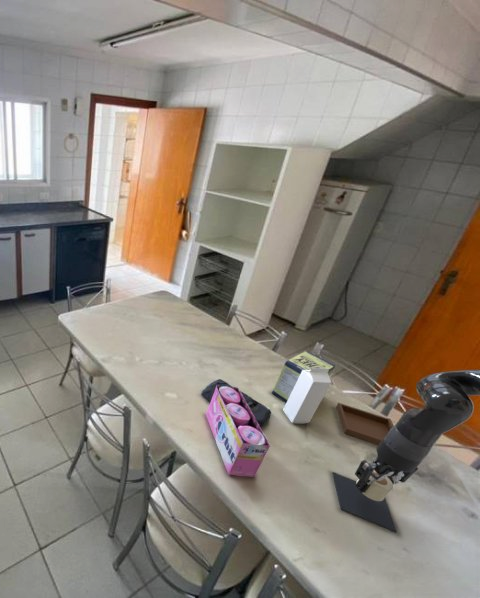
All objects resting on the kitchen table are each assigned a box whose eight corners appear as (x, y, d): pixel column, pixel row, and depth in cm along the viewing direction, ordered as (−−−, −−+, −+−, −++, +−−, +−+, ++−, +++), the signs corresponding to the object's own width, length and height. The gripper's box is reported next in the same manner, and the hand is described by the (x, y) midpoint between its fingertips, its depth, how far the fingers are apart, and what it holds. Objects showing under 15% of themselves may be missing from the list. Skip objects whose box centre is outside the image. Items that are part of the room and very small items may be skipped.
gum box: (203, 412, 115) (213, 382, 109) (226, 413, 115) (237, 384, 109) (228, 475, 94) (242, 443, 88) (255, 477, 94) (271, 445, 88)
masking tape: (379, 486, 90) (389, 474, 87) (386, 505, 85) (397, 493, 82) (353, 476, 92) (362, 464, 89) (359, 494, 87) (368, 482, 85)
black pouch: (220, 380, 132) (223, 370, 129) (274, 416, 116) (279, 406, 114) (196, 394, 123) (199, 384, 121) (252, 435, 108) (257, 425, 106)
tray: (386, 425, 116) (390, 419, 115) (400, 454, 105) (405, 448, 104) (334, 408, 122) (338, 402, 120) (342, 434, 111) (346, 428, 109)
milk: (282, 410, 119) (305, 361, 109) (298, 411, 119) (323, 362, 109) (292, 423, 114) (317, 373, 104) (309, 424, 114) (335, 374, 104)
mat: (381, 492, 93) (382, 491, 93) (396, 532, 83) (397, 531, 83) (332, 473, 97) (332, 472, 97) (340, 509, 88) (341, 508, 87)
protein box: (318, 397, 127) (336, 365, 120) (298, 411, 119) (315, 378, 112) (291, 380, 134) (306, 349, 127) (270, 393, 127) (285, 361, 120)
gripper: (391, 461, 76) (357, 504, 84) (446, 460, 78) (408, 502, 85) (364, 434, 83) (335, 476, 91) (415, 434, 84) (382, 475, 92)
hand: (370, 488), depth 88 cm, fingers closed on masking tape, 6 cm apart
